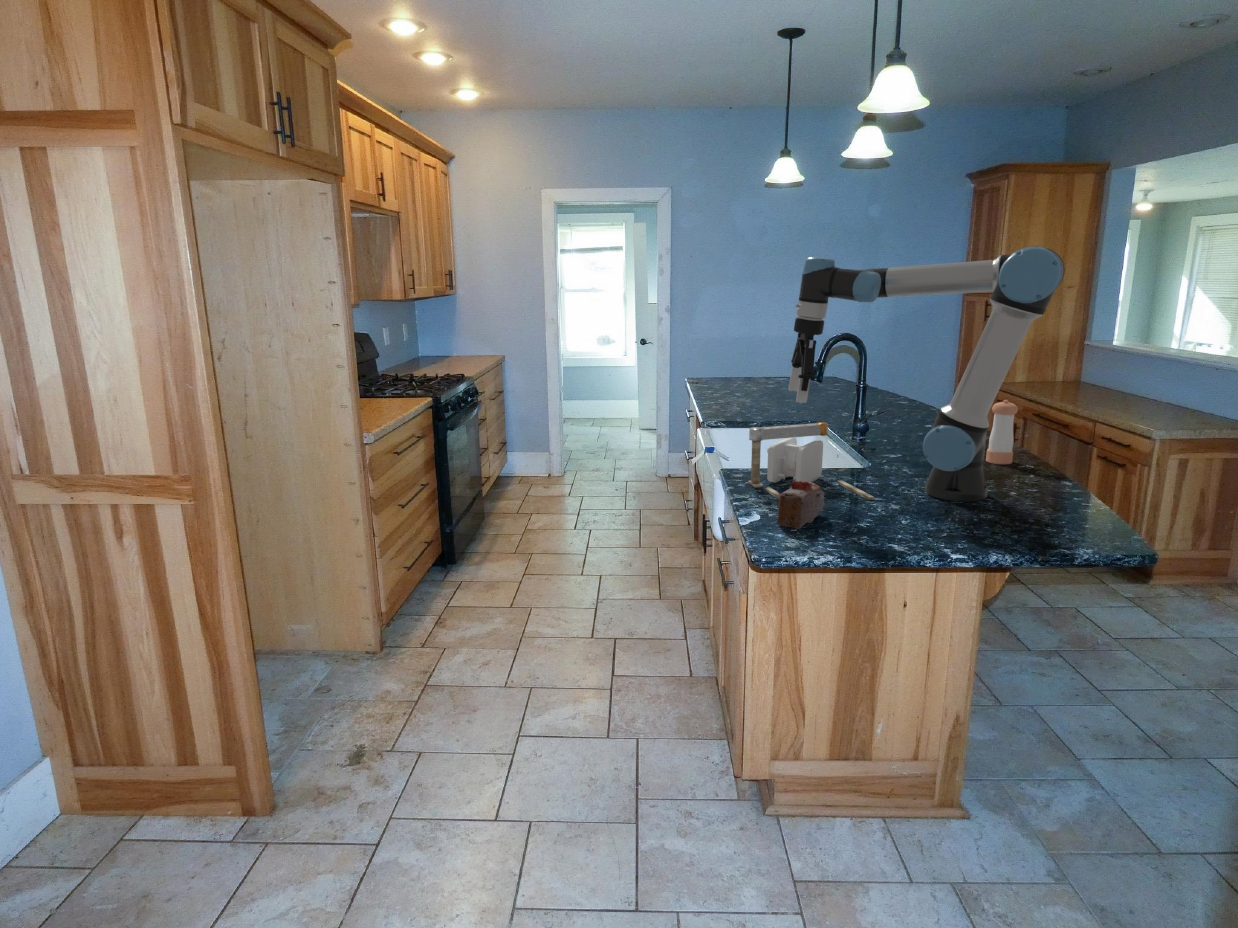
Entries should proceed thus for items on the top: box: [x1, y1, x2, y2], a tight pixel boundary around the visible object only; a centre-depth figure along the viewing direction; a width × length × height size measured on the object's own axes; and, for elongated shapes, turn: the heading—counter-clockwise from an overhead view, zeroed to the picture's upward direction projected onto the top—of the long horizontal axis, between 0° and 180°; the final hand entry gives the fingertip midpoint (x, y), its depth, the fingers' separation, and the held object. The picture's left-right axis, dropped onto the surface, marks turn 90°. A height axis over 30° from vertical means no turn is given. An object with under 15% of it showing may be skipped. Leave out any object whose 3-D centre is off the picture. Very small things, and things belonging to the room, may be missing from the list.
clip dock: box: [747, 440, 875, 501], centre depth 200 cm, size 24×25×13 cm
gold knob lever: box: [748, 421, 829, 442], centre depth 206 cm, size 4×24×3 cm, turn 104°
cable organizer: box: [766, 437, 824, 484], centre depth 209 cm, size 15×11×12 cm
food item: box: [777, 480, 825, 530], centre depth 178 cm, size 14×8×10 cm, turn 147°
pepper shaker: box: [985, 399, 1019, 465], centre depth 224 cm, size 7×7×19 cm
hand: (797, 396), depth 200 cm, fingers open, 13 cm apart
